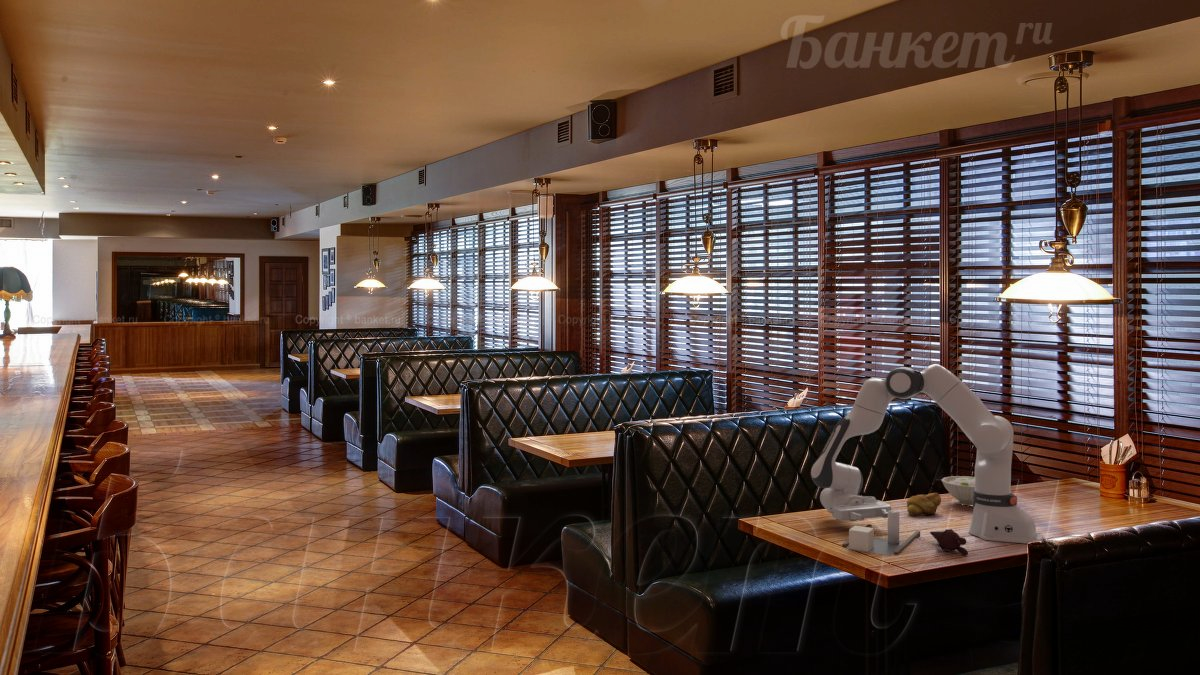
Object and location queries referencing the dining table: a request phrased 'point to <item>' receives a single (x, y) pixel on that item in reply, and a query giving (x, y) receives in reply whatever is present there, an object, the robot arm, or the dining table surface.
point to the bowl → (960, 488)
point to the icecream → (950, 541)
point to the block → (861, 538)
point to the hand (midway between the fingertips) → (874, 516)
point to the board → (882, 547)
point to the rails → (901, 547)
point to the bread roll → (923, 504)
